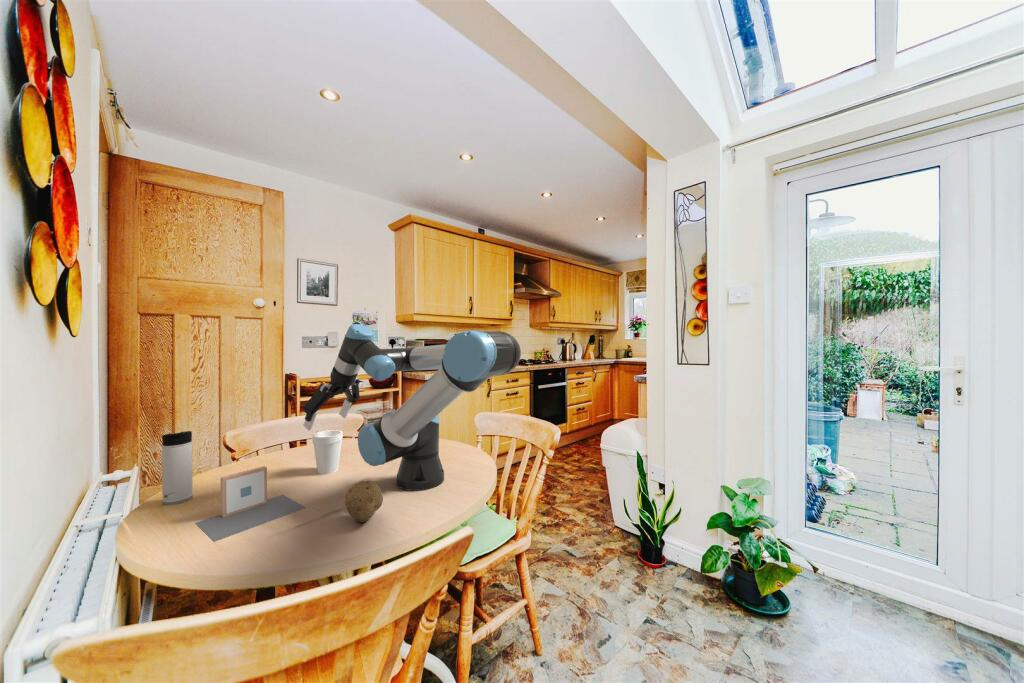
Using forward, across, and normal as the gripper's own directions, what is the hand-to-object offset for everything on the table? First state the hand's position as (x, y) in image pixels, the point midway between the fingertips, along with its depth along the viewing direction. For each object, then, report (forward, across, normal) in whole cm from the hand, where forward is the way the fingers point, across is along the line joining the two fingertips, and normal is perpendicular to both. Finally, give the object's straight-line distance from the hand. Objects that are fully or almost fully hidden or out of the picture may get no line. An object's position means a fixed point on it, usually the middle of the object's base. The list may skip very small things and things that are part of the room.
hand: (325, 421), depth 122 cm
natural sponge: (-3, +18, +38) cm, 42 cm away
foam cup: (+18, -2, +7) cm, 19 cm away
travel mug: (+25, +32, -10) cm, 42 cm away
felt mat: (+10, +28, +14) cm, 33 cm away
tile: (+13, +27, +10) cm, 32 cm away
